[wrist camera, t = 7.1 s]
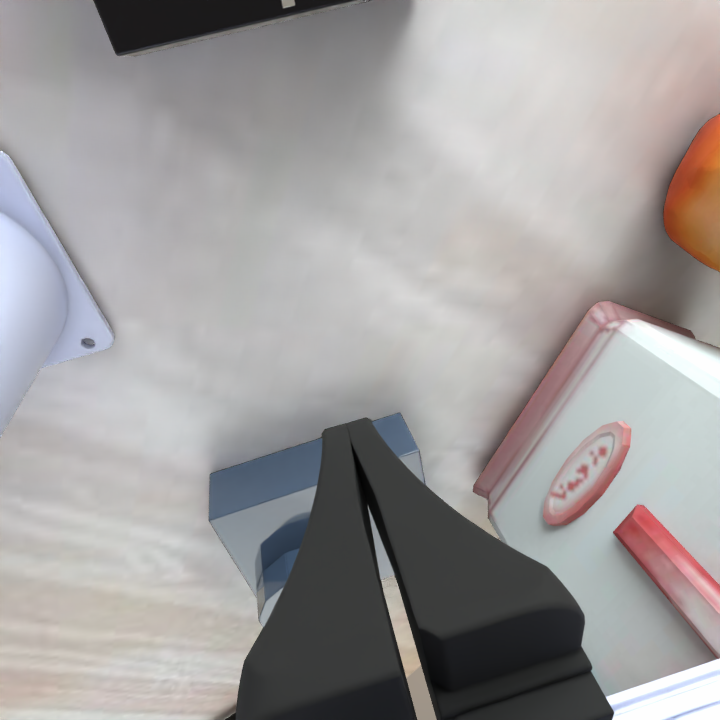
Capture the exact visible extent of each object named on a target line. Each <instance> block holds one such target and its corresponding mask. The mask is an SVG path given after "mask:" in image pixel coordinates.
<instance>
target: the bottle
mask: <svg viewBox="0 0 720 720" xmlns="http://www.w3.org/2000/svg"><path fill="white" fill-rule="evenodd" d="M473 492H474V493H476V494H477V495H479V496H482V497H484V498H486V499H488V519H489V521H490V522H491V524H492V526H493V528H494V529H495V531H496V533H497V534H498V536H499V538H500V540H501V541H502V542H503V543H505V544H507V545H508V546H510V547H512V548H513V549H515V550H517V551H519V552H521V553H523V554H524V555H526V556H528V557H530V558H532V559H534V560H536V561H538V562H540V563H542V564H544V565H546V566H547V567H548V568H549V569H550V570H551V571H552V572H553V573H554V574H555V575H556V576H557V578H558V579H559V580H560V581H561V582H562V583H563V585H564V586H565V587H566V588H567V589H568V591H569V592H570V593H571V595H572V596H573V597H574V599H575V600H576V601H577V603H578V604H579V606H580V608H581V610H582V611H583V613H584V615H585V627H584V632H583V638H582V644H581V646H582V648H583V650H584V652H585V653H586V655H587V657H588V658H589V660H590V662H591V664H592V670H591V672H592V674H593V676H594V677H595V679H596V681H597V683H598V684H599V686H600V688H601V690H602V691H603V693H604V695H605V697H607V696H610V695H613V694H616V693H619V692H622V691H625V690H628V689H631V688H634V687H637V686H639V685H642V684H645V683H648V682H651V681H654V680H657V679H660V678H663V677H666V676H669V675H672V674H675V673H678V672H681V671H684V670H687V669H690V668H693V667H696V666H699V665H702V664H705V663H708V662H711V661H714V660H716V659H719V658H720V348H719V347H716V346H713V345H710V344H707V343H704V342H702V341H699V340H696V339H695V336H694V335H693V333H692V332H691V331H690V330H688V329H685V328H682V327H679V326H677V325H674V324H671V323H668V322H666V321H663V320H660V319H657V318H654V317H652V316H649V315H646V314H643V313H641V312H638V311H635V310H632V309H630V308H627V307H624V306H621V305H618V304H616V303H613V302H610V301H602V302H597V303H596V304H595V305H594V306H593V307H591V308H590V309H589V310H588V312H587V313H586V315H585V316H584V318H583V319H582V321H581V322H580V324H579V325H578V327H577V328H576V330H575V331H574V333H573V334H572V336H571V338H570V339H569V341H568V342H567V344H566V345H565V347H564V348H563V350H562V351H561V353H560V354H559V356H558V357H557V359H556V360H555V362H554V363H553V365H552V367H551V368H550V370H549V371H548V373H547V374H546V376H545V377H544V379H543V380H542V382H541V383H540V385H539V386H538V388H537V389H536V391H535V392H534V394H533V396H532V397H531V399H530V400H529V402H528V403H527V405H526V406H525V408H524V409H523V411H522V412H521V414H520V415H519V417H518V418H517V420H516V421H515V423H514V425H513V426H512V428H511V429H510V431H509V432H508V434H507V435H506V437H505V438H504V440H503V441H502V443H501V444H500V446H499V447H498V449H497V450H496V452H495V454H494V455H493V457H492V458H491V460H490V461H489V463H488V464H487V466H486V467H485V469H484V470H483V472H482V473H481V475H480V476H479V478H478V479H477V481H476V483H475V484H474V486H473Z"/></svg>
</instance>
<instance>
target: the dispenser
mask: <svg viewBox="0 0 720 720" xmlns="http://www.w3.org/2000/svg"><path fill="white" fill-rule="evenodd" d="M372 423H373V425H374V427H375V428H376V430H377V431H378V433H379V434H380V436H381V437H382V438H383V440H384V441H385V442H386V444H387V445H388V446H389V447H390V449H391V450H392V451H393V452H394V453H395V454H396V456H397V457H398V458H399V459H400V460H401V461H402V462H403V463H404V464H405V465H406V467H407V468H408V469H409V470H410V471H411V472H412V473H413V474H414V475H415V476H416V477H417V478H418V479H419V480H420V481H422V482H423V483H424V484H425V480H424V474H423V468H422V462H421V457H420V451H419V448H418V447H417V445H416V443H415V441H414V439H413V437H412V435H411V433H410V431H409V429H408V427H407V425H406V423H405V421H404V419H403V417H402V415H401V413H397V414H394V415H391V416H387V417H384V418H381V419H378V420H375V421H372ZM321 456H322V438H319V439H316V440H313V441H310V442H307V443H304V444H301V445H298V446H295V447H292V448H289V449H285V450H282V451H279V452H276V453H273V454H270V455H267V456H264V457H261V458H258V459H255V460H251V461H248V462H245V463H242V464H239V465H236V466H233V467H230V468H227V469H224V470H221V471H217V472H214V473H211V474H210V487H209V522H210V523H211V525H212V527H213V528H214V530H215V532H216V533H217V535H218V536H219V538H220V540H221V541H222V543H223V544H224V546H225V548H226V549H227V551H228V553H229V554H230V556H231V557H232V559H233V561H234V562H235V564H236V565H237V567H238V569H239V570H240V572H241V574H242V575H243V577H244V578H245V580H246V582H247V583H248V585H249V586H250V588H251V590H252V591H253V593H254V595H255V596H256V598H257V605H258V619H259V622H260V623H261V625H262V626H263V627H264V626H265V624H266V622H267V620H268V618H269V616H270V614H271V612H272V610H273V608H274V606H275V604H276V602H277V600H278V598H279V596H280V594H281V592H282V590H283V588H284V586H285V583H286V581H287V579H288V577H289V574H290V572H291V569H292V567H293V564H294V562H295V559H296V557H297V554H298V551H299V549H300V546H301V543H302V540H303V537H304V534H305V531H306V528H307V524H308V521H309V518H310V514H311V510H312V506H313V502H314V498H315V493H316V489H317V483H318V477H319V472H320V465H321ZM368 510H369V507H368ZM369 516H370V521H371V527H372V533H373V539H374V544H375V550H376V556H377V562H378V567H379V573H380V579H381V580H382V579H385V578H388V577H391V576H393V575H394V572H393V569H392V567H391V564H390V561H389V559H388V556H387V554H386V551H385V549H384V546H383V543H382V541H381V538H380V536H379V533H378V530H377V528H376V525H375V523H374V520H373V517H372V515H371V512H370V510H369Z"/></svg>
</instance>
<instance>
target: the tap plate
mask: <svg viewBox="0 0 720 720" xmlns="http://www.w3.org/2000/svg"><path fill="white" fill-rule="evenodd" d="M93 1H94V3H95V6H96V8H97V10H98V13H99V15H100V18H101V20H102V22H103V25H104V27H105V30H106V32H107V34H108V37H109V39H110V42H111V44H112V46H113V49H114V51H115V53H116V55H117V56H131V57H136V56H140V55H144V54H148V53H153V52H157V51H161V50H165V49H169V48H174V47H178V46H182V45H186V44H191V43H195V42H199V41H203V40H208V39H212V38H216V37H220V36H225V35H229V34H233V33H237V32H242V31H246V30H250V29H254V28H259V27H263V26H267V25H271V24H275V23H280V22H284V21H288V20H292V19H297V18H301V17H305V16H309V15H314V14H318V13H322V12H326V11H331V10H335V9H339V8H343V7H348V6H352V5H356V4H360V3H365V2H369V1H373V0H93Z"/></svg>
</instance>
